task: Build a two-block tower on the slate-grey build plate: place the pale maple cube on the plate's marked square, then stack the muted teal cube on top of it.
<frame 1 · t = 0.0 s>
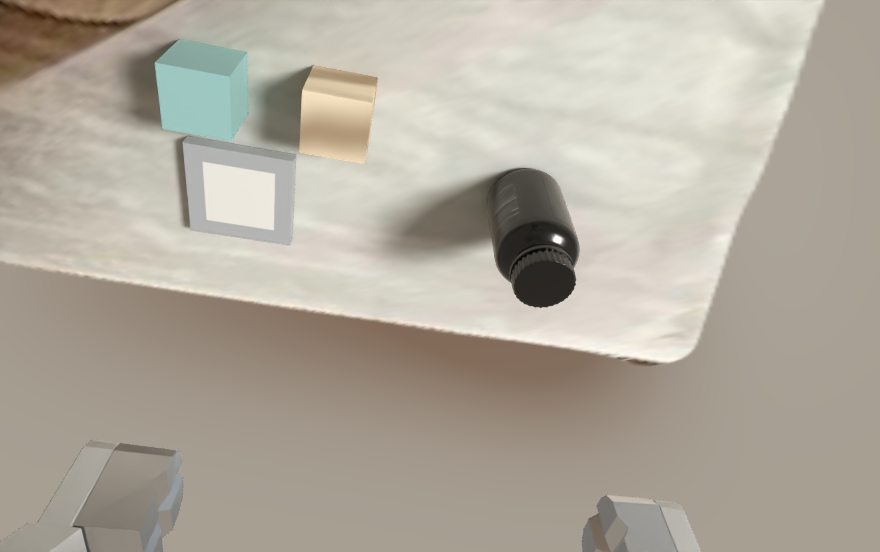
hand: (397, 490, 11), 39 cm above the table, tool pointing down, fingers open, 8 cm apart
maple cube: (343, 101, 47), on the table
build plate: (243, 190, 52), on the table
supplement bottle: (524, 197, 53), on the table
teal cube: (215, 77, 45), on the table
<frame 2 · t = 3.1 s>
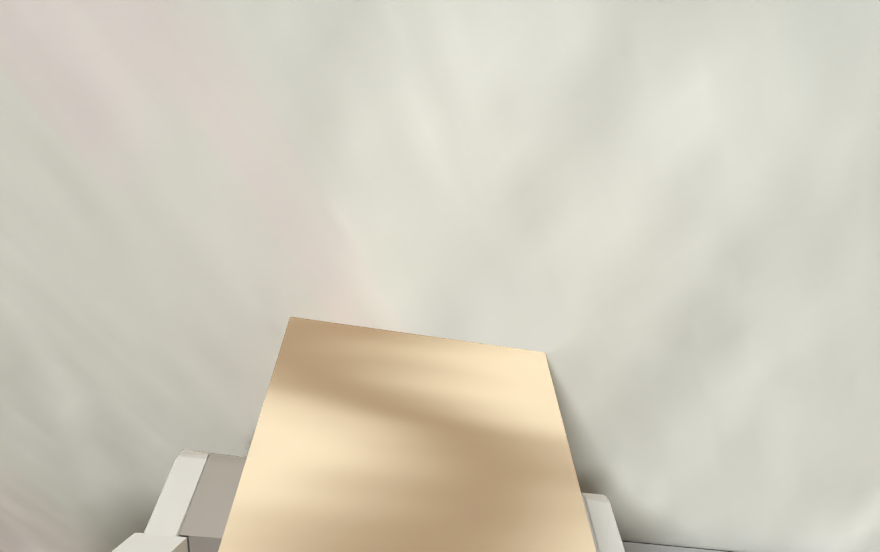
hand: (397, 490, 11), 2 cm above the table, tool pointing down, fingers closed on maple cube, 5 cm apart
maple cube: (400, 422, 13), on the table, touching gripper
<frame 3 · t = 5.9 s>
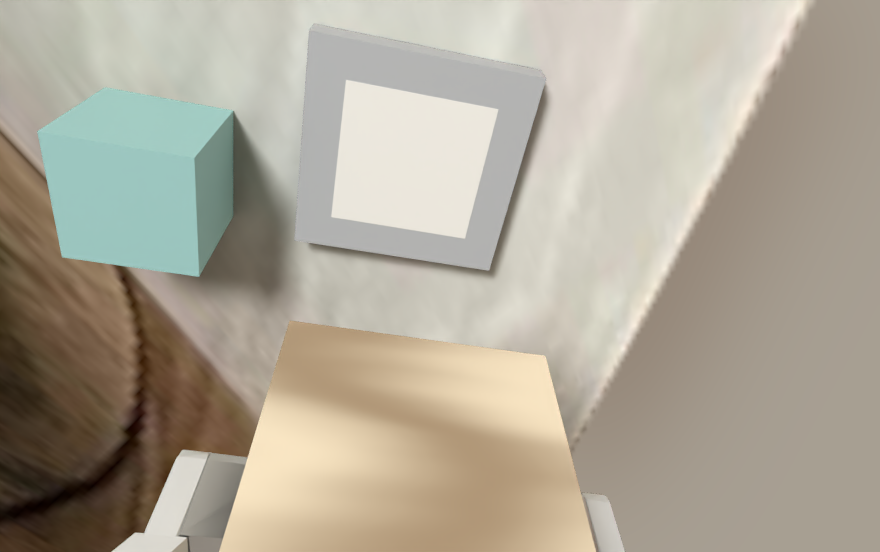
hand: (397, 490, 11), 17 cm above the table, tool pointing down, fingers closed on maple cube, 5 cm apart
maple cube: (400, 425, 12), point 15 cm above the table, touching gripper
build plate: (411, 154, 25), on the table
teal cube: (174, 155, 25), on the table
when the fingers open (4 cm above the table, at t = 8.6 s): maple cube stays where it is, resting on build plate.
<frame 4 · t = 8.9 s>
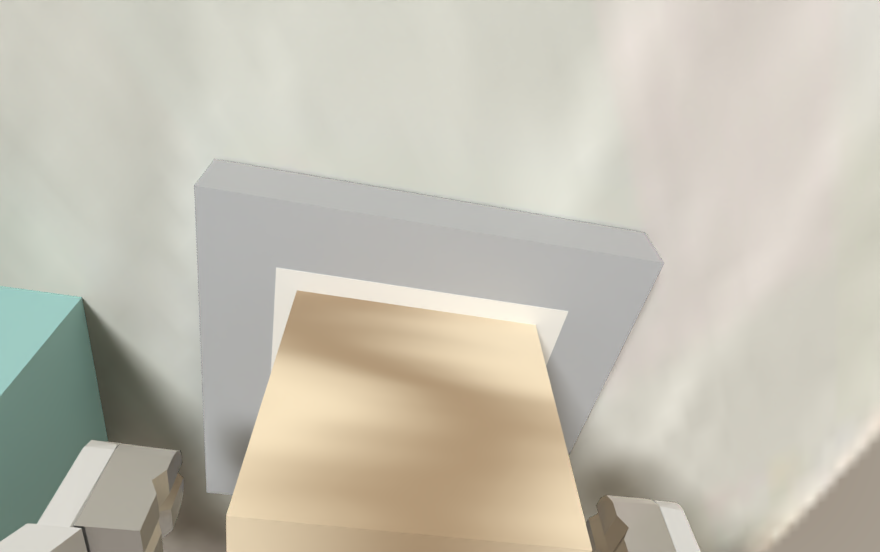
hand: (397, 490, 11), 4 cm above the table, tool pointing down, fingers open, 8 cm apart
maple cube: (400, 393, 13), point 1 cm above the table, touching build plate
build plate: (404, 358, 14), on the table
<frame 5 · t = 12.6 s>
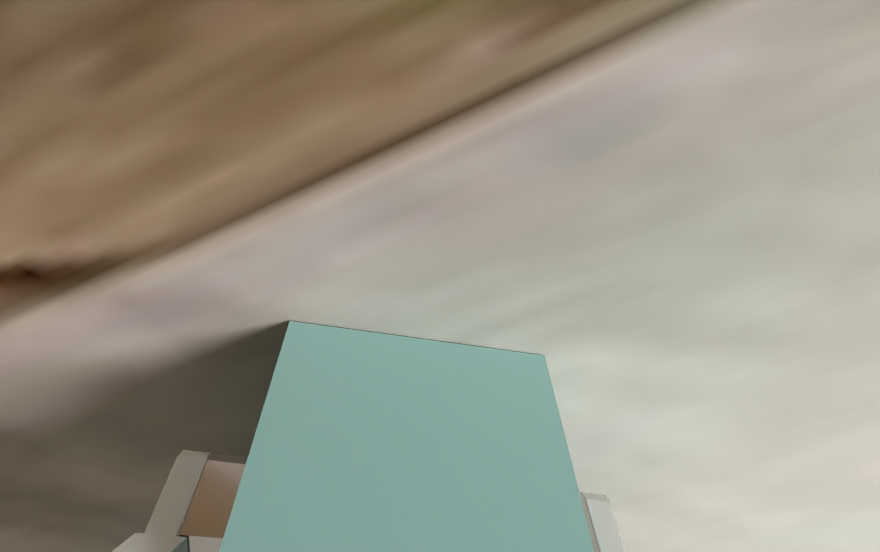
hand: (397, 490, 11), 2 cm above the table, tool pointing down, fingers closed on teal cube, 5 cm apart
teal cube: (400, 425, 13), on the table, touching gripper
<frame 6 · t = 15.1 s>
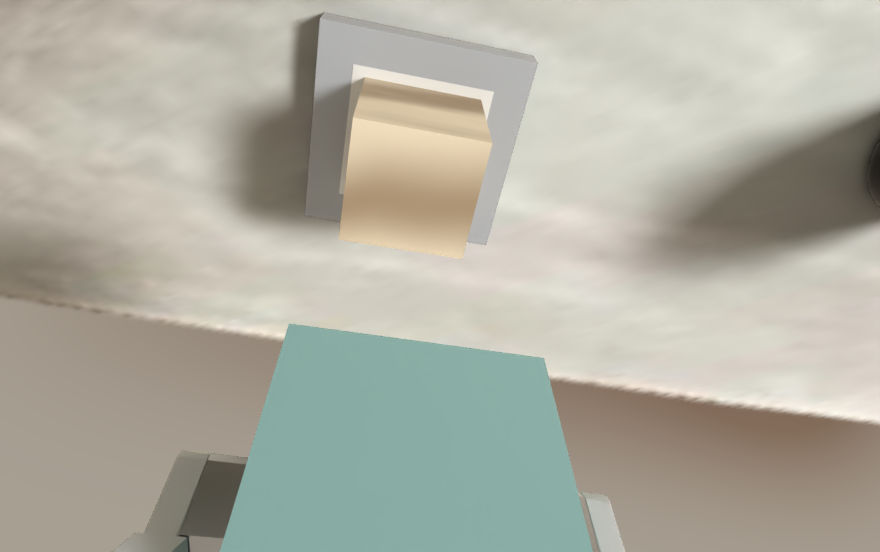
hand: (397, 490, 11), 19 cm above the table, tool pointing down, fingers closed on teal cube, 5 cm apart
maple cube: (413, 143, 26), point 1 cm above the table, touching build plate
build plate: (413, 135, 27), on the table
teal cube: (399, 427, 13), point 17 cm above the table, touching gripper
when the fingers open (9 cm above the table, at t = 17.8 s): teal cube stays where it is, resting on maple cube.
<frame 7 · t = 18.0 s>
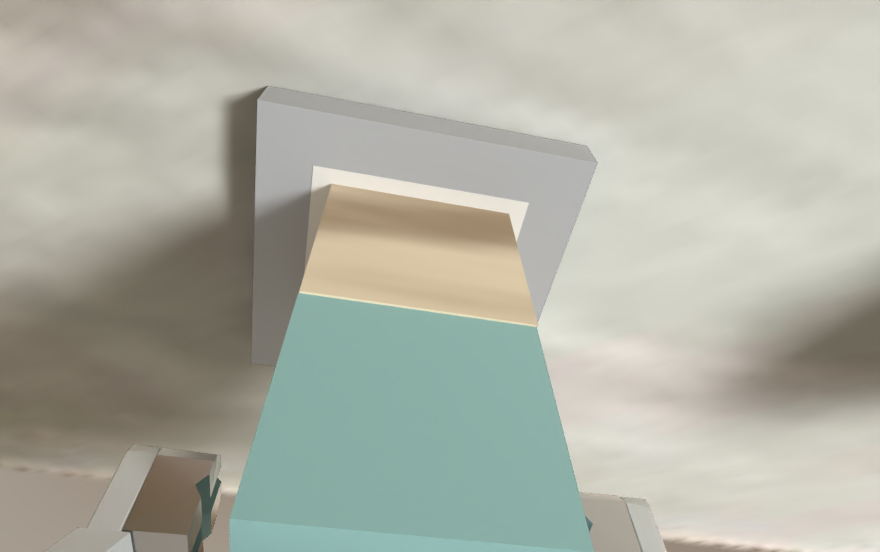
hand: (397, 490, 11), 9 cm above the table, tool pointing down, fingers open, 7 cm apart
maple cube: (407, 272, 17), point 1 cm above the table, touching build plate, teal cube
build plate: (406, 252, 18), on the table
teal cube: (401, 395, 13), point 6 cm above the table, touching maple cube
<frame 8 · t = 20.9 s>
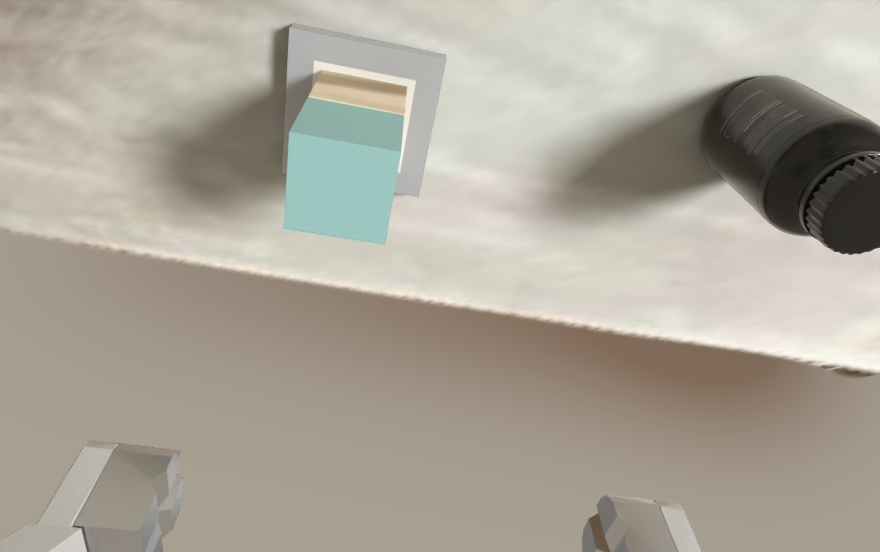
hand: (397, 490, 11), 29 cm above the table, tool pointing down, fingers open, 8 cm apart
maple cube: (360, 118, 35), point 1 cm above the table, touching build plate, teal cube
build plate: (361, 113, 36), on the table
supplement bottle: (751, 125, 38), on the table
teal cube: (351, 151, 31), point 6 cm above the table, touching maple cube
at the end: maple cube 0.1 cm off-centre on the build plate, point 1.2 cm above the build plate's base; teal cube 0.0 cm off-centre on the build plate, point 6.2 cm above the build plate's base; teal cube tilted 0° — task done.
